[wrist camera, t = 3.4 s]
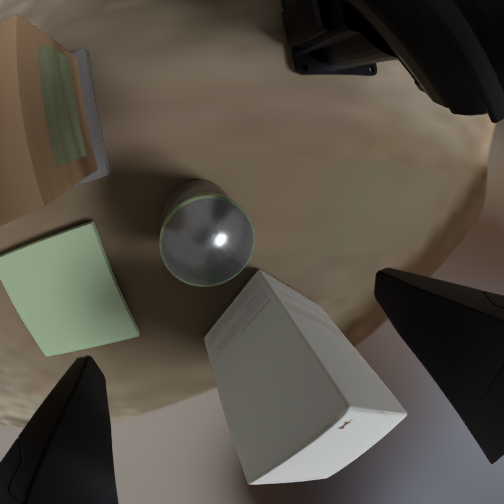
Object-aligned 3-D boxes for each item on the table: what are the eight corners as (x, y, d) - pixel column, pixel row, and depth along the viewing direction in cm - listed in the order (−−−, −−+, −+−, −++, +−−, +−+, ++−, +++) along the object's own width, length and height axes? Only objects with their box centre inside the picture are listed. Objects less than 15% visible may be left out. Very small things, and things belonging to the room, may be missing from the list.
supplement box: (200, 337, 22) (242, 487, 11) (258, 265, 21) (354, 405, 10) (267, 364, 25) (326, 481, 14) (321, 305, 24) (412, 414, 13)
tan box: (88, 51, 12) (30, -4, 4) (111, 172, 15) (62, 216, 7) (-4, 96, 10) (-93, 93, 3) (20, 207, 14) (-58, 270, 6)
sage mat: (93, 220, 16) (91, 223, 16) (139, 331, 20) (139, 336, 20) (-5, 257, 14) (-8, 261, 14) (47, 351, 18) (46, 356, 18)
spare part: (225, 170, 17) (247, 185, 13) (238, 237, 19) (261, 272, 15) (152, 188, 16) (147, 211, 12) (171, 255, 19) (174, 297, 14)
